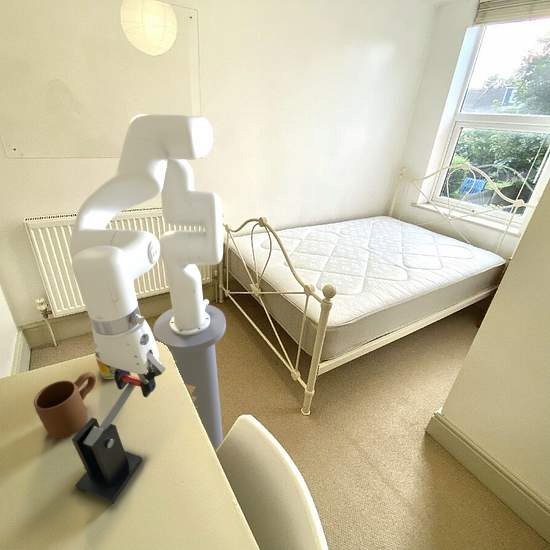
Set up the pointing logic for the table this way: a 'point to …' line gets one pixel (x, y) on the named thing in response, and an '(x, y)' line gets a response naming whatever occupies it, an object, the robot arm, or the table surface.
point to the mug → (64, 405)
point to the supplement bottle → (104, 369)
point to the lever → (113, 410)
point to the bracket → (104, 463)
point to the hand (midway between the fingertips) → (137, 387)
